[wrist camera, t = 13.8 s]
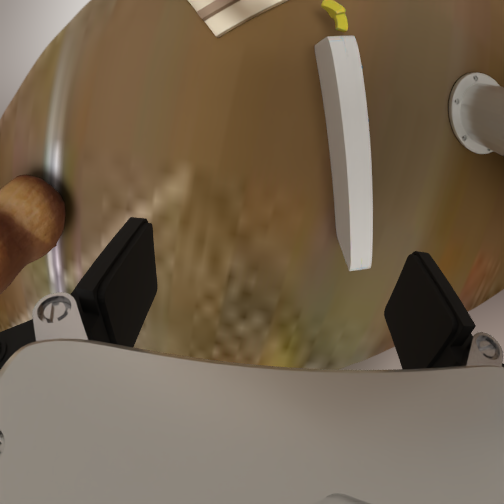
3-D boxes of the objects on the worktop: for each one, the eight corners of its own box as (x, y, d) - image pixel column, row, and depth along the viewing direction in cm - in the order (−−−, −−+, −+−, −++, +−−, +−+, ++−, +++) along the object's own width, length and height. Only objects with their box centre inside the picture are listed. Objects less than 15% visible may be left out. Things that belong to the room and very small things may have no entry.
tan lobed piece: (48, 149, 38) (-71, 223, 17) (91, 213, 44) (-4, 318, 23) (12, 193, 42) (-80, 269, 21) (51, 247, 48) (-26, 341, 27)
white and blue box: (359, 232, 43) (379, 271, 35) (335, 235, 44) (349, 275, 35) (335, 7, 27) (357, -13, 18) (305, 9, 27) (318, -13, 19)
